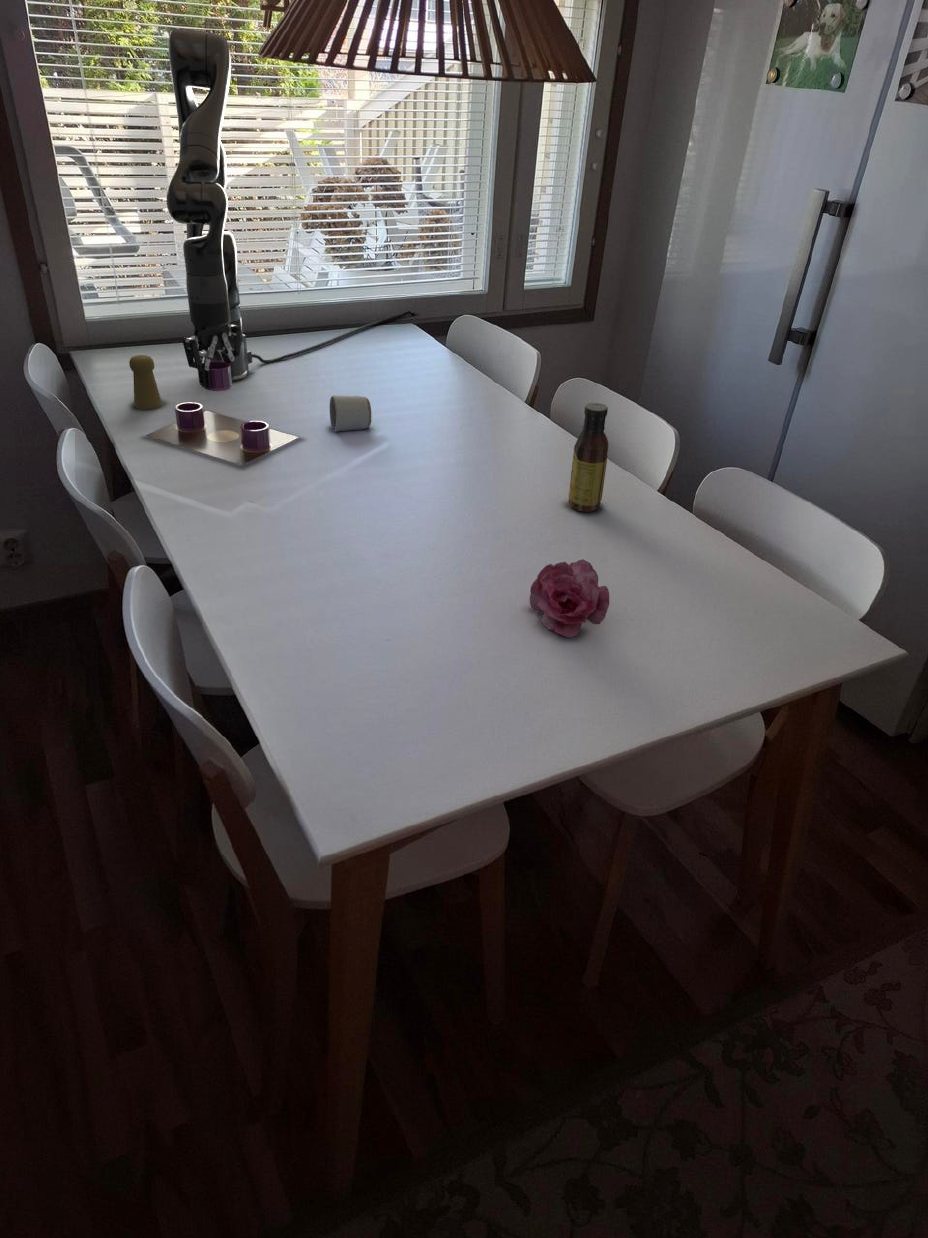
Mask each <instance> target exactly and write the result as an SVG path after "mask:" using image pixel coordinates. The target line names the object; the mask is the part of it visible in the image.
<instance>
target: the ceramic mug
mask: <svg viewBox="0 0 928 1238" xmlns="http://www.w3.org/2000/svg"><path fill="white" fill-rule="evenodd" d="M329 421H330V426H331V427H335V428H334V429H333V431H334V432H348V431H362V430H366V429H369V428H370V426H371V424H372V406H371V402H370V399H369V398H368V397H366V396H363V395H337V394H335V395H334V394H333V395H331V396H330V399H329Z"/></svg>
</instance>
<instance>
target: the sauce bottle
mask: <svg viewBox="0 0 928 1238" xmlns="http://www.w3.org/2000/svg"><path fill="white" fill-rule="evenodd" d="M608 409H609V408H608V406H607V405H606V404H605V403H601V402H588V403H586V404H585V406H584V410H583V411H584V412H583V413H584V421H583V426H582V430H581V432H580V433H579V436H578V437H577V440H576V442H575V444H574V446H573V454H572V464H571V473H570V481H569V490H568V491H569V492H568V504H569V507H571V508H572V509H573V510H576V511H578V512H583V513H590V512H594V511H595V512H596V511H598V509H600V507H601V502H602V500H603V493H604V488H605V487H604V486H605V479H606V472H607V471H606V470H607V463H608V452H609V440H608V436H607V435H606V433H605V429H606V427H605V425H606V417H607V415H608Z"/></svg>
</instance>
